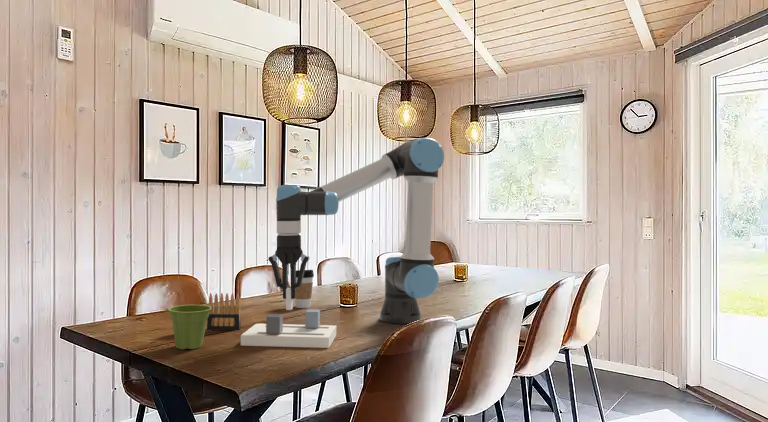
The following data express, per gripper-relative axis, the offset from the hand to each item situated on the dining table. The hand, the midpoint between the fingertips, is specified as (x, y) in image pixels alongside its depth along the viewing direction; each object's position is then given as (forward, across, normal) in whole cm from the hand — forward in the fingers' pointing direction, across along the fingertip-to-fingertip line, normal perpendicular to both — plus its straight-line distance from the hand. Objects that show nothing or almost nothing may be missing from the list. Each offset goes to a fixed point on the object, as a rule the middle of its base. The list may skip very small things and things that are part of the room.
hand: (289, 309), depth 172 cm
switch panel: (+9, -1, +5) cm, 10 cm away
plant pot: (+8, +26, +16) cm, 31 cm away
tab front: (+5, +3, +9) cm, 11 cm away
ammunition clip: (+8, +24, -7) cm, 26 cm away
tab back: (+5, -7, 0) cm, 9 cm away
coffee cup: (+9, +6, -49) cm, 50 cm away
